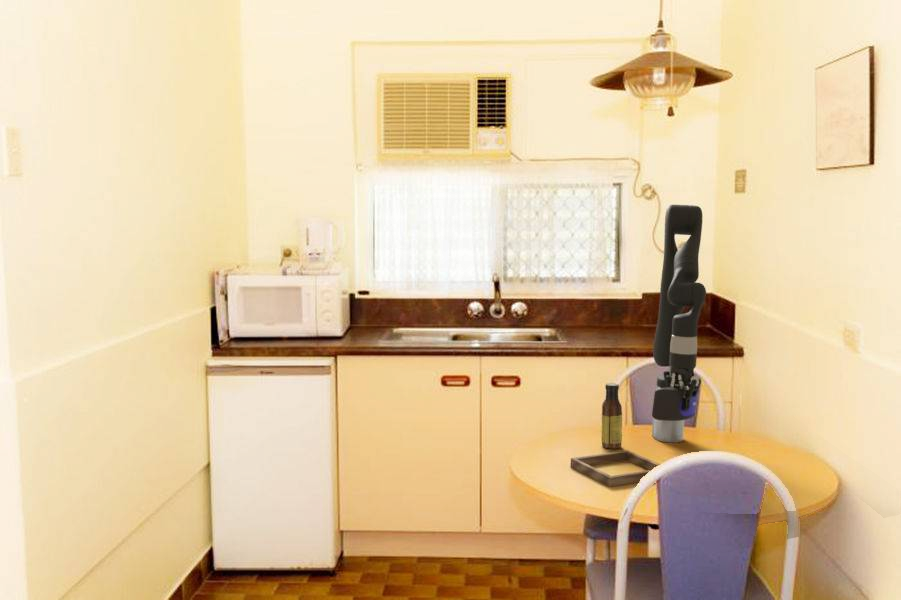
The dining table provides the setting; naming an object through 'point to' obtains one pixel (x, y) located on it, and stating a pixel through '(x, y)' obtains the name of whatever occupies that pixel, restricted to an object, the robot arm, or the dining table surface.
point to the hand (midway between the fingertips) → (680, 408)
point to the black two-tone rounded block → (672, 405)
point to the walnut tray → (585, 462)
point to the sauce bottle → (611, 418)
